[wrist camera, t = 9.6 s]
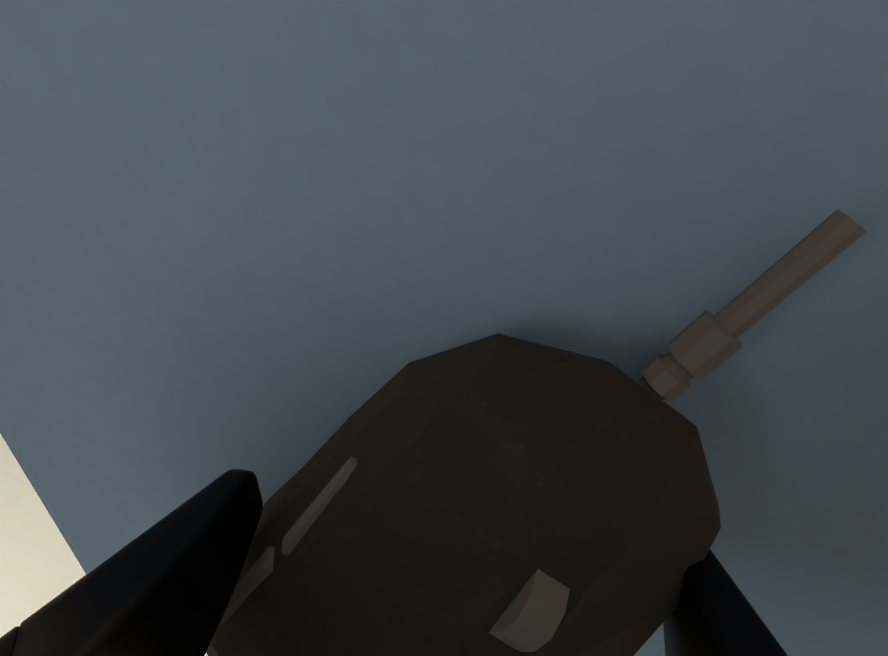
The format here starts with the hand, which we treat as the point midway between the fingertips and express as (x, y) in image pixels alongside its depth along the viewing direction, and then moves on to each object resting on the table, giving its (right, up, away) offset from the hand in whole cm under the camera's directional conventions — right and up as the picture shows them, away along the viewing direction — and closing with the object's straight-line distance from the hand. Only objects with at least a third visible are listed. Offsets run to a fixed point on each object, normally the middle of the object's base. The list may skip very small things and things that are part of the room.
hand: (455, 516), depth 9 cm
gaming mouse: (0, 0, +1) cm, 1 cm away
